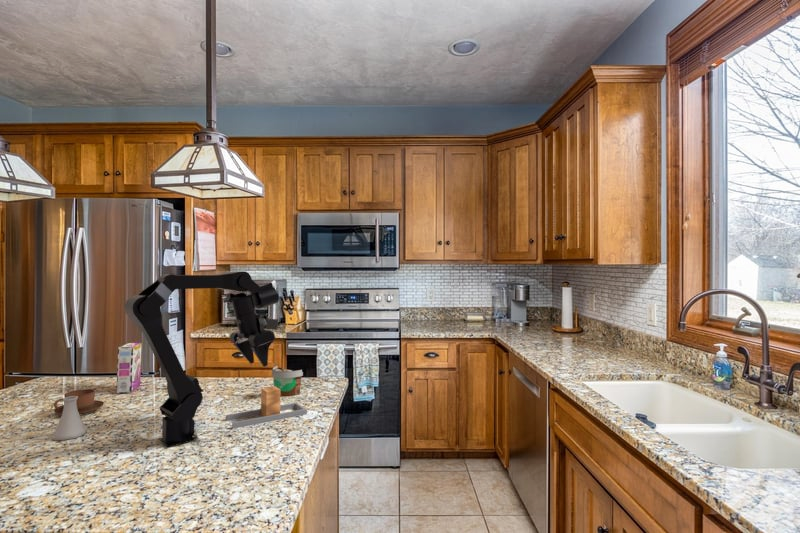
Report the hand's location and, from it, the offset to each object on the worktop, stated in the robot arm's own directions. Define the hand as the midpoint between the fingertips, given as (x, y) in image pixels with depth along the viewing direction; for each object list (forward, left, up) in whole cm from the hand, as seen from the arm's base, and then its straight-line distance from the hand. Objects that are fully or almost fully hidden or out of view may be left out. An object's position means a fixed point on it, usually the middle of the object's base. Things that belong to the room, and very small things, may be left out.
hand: (258, 364), depth 122 cm
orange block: (+2, -3, -15) cm, 15 cm away
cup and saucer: (-36, +44, -17) cm, 59 cm away
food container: (+16, +14, -17) cm, 27 cm away
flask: (-41, +23, -17) cm, 50 cm away
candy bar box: (-19, +62, -17) cm, 67 cm away
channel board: (+1, -3, -16) cm, 17 cm away
